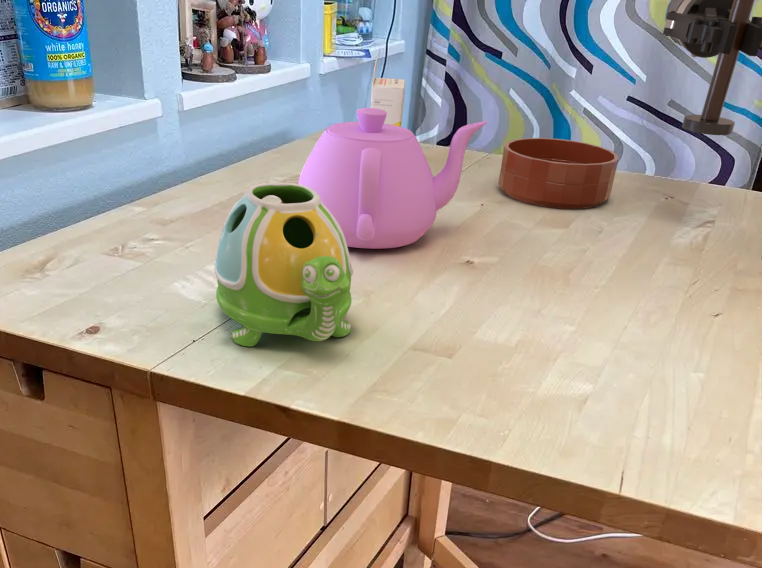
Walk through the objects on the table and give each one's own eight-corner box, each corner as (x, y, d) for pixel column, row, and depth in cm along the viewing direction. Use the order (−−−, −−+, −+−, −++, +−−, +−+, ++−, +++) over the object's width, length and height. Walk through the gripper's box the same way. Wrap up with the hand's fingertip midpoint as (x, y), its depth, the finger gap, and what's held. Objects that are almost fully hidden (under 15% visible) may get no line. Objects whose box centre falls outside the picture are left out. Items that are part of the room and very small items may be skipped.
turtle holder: (259, 386, 66) (256, 239, 59) (201, 304, 79) (193, 175, 72) (394, 367, 70) (407, 227, 63) (318, 292, 83) (322, 169, 76)
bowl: (587, 181, 127) (597, 140, 123) (623, 212, 114) (635, 166, 110) (487, 178, 125) (493, 135, 121) (512, 208, 112) (520, 162, 109)
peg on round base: (718, 126, 103) (770, -48, 92) (740, 136, 98) (797, -46, 87) (674, 124, 102) (720, -51, 92) (693, 134, 98) (745, -49, 87)
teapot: (481, 271, 91) (502, 138, 83) (289, 261, 90) (290, 124, 82) (460, 214, 108) (475, 99, 100) (299, 205, 108) (300, 88, 99)
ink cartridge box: (398, 174, 124) (407, 64, 115) (366, 171, 124) (372, 61, 115) (398, 160, 131) (406, 56, 122) (367, 158, 131) (374, 53, 122)
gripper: (756, 59, 110) (801, 85, 91) (642, 50, 112) (664, 73, 93) (776, -7, 105) (828, 6, 87) (657, -16, 107) (683, -5, 88)
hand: (743, 41), depth 90 cm, fingers closed on peg on round base, 2 cm apart
